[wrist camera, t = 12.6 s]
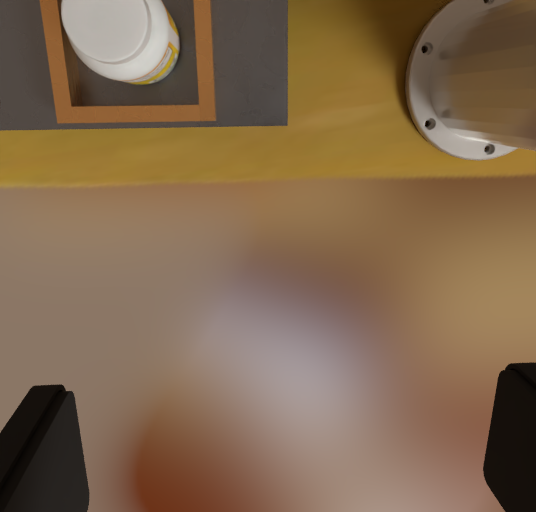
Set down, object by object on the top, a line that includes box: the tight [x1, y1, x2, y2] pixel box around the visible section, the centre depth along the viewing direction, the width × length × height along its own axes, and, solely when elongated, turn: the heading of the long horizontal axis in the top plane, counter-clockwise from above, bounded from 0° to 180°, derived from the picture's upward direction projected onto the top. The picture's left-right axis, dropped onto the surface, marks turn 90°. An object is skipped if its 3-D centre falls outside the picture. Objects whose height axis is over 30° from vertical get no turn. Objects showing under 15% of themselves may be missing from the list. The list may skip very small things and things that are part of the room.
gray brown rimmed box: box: [0, 0, 288, 130], centre depth 32 cm, size 23×11×6 cm, turn 90°
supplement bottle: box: [61, 0, 180, 85], centre depth 27 cm, size 5×5×10 cm
